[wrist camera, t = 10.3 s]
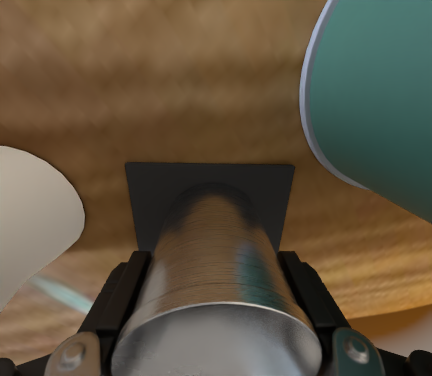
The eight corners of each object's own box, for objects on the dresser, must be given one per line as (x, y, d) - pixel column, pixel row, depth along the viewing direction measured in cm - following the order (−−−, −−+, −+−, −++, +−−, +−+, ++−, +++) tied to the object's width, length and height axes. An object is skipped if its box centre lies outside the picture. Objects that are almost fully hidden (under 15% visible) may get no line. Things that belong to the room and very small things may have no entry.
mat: (143, 264, 15) (141, 268, 15) (126, 161, 12) (124, 163, 11) (273, 263, 15) (275, 267, 15) (292, 164, 12) (295, 166, 12)
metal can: (167, 259, 14) (127, 424, 7) (160, 178, 12) (85, 305, 5) (254, 259, 15) (300, 416, 7) (265, 179, 12) (351, 300, 5)
